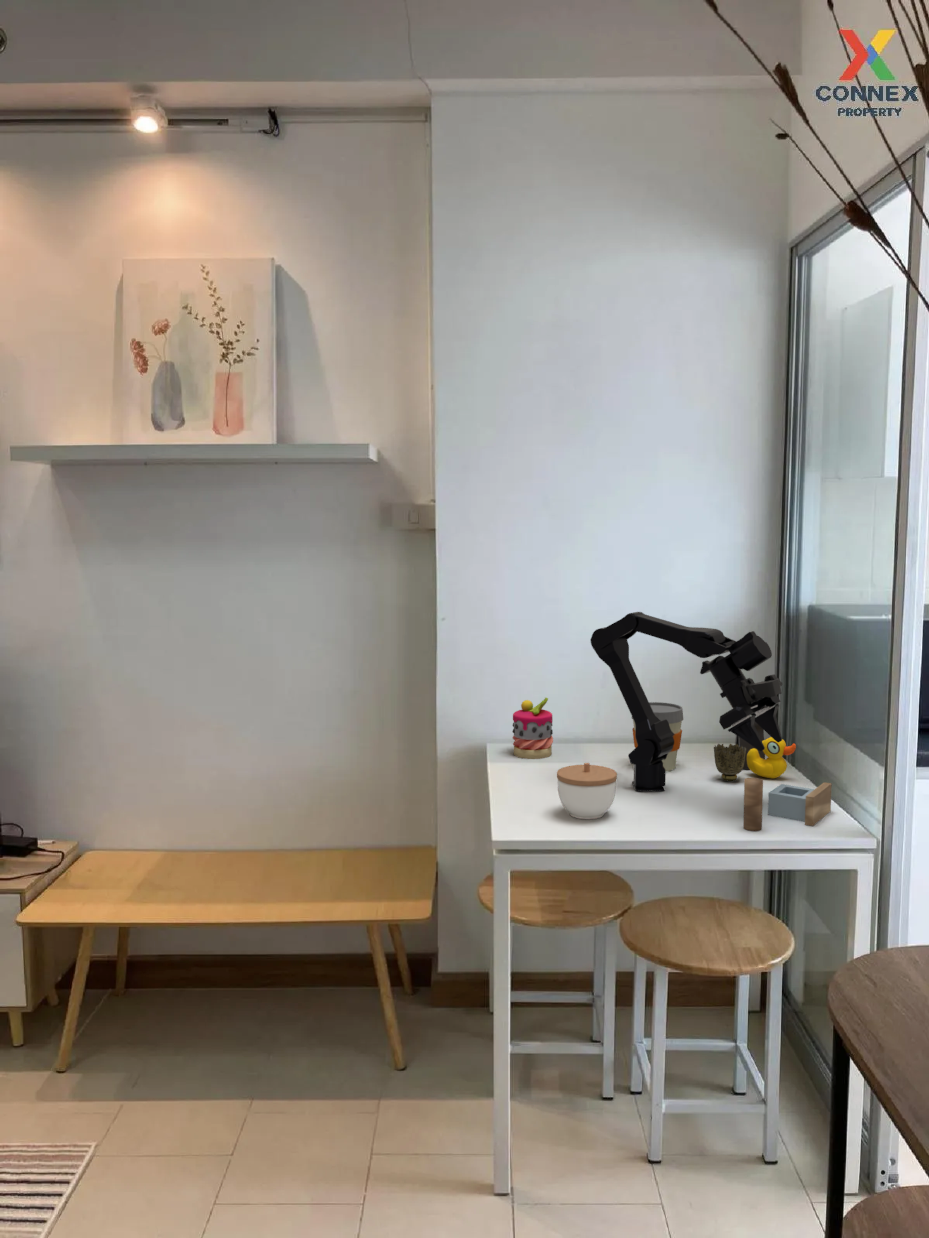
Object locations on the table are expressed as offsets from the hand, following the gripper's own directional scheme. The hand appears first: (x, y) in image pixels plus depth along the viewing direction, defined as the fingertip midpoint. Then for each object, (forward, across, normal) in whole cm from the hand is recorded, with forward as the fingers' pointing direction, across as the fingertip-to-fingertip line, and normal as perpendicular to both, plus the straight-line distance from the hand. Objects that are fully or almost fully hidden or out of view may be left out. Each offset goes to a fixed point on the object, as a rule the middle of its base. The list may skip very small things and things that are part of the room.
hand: (771, 745), depth 217 cm
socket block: (+14, +2, +5) cm, 15 cm away
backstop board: (+17, +2, 0) cm, 17 cm away
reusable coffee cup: (-9, +17, +38) cm, 43 cm away
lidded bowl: (-6, -25, +33) cm, 42 cm away
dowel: (+12, -12, +7) cm, 19 cm away
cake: (-28, +9, +64) cm, 70 cm away
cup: (+2, +17, +22) cm, 28 cm away
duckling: (+6, +25, +17) cm, 31 cm away
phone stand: (+1, +32, +24) cm, 40 cm away
